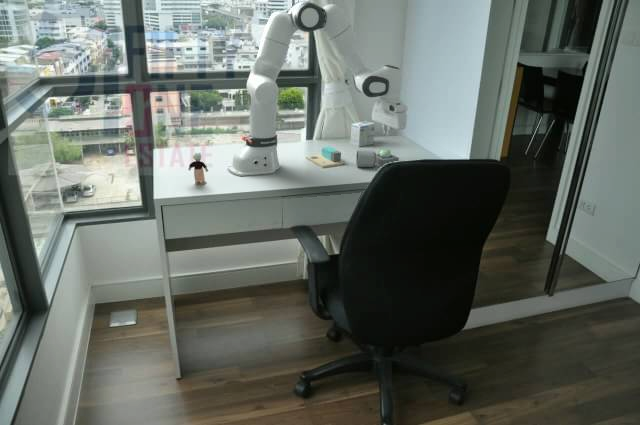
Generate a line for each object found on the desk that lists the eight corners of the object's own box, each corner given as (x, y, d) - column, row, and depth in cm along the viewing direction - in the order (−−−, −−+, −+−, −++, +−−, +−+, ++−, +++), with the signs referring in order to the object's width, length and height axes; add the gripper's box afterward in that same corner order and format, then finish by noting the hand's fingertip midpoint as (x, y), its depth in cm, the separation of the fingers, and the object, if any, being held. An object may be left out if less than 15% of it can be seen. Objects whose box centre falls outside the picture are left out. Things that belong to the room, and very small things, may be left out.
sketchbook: (322, 168, 220) (322, 165, 219) (305, 158, 231) (305, 156, 231) (343, 164, 225) (343, 162, 224) (326, 155, 237) (326, 153, 236)
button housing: (382, 166, 224) (383, 160, 223) (370, 160, 231) (371, 154, 230) (398, 163, 228) (398, 157, 227) (386, 158, 235) (386, 152, 234)
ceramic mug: (375, 169, 220) (377, 152, 217) (357, 169, 220) (358, 152, 217) (372, 162, 230) (373, 145, 227) (354, 161, 230) (355, 145, 227)
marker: (321, 155, 232) (322, 147, 231) (329, 154, 234) (329, 146, 233) (333, 162, 225) (333, 153, 223) (340, 160, 226) (341, 152, 225)
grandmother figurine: (209, 181, 201) (207, 150, 196) (208, 184, 197) (207, 153, 192) (189, 181, 200) (187, 151, 194) (188, 185, 196) (186, 154, 191)
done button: (383, 160, 226) (384, 152, 224) (377, 157, 229) (377, 150, 228) (392, 159, 228) (392, 151, 227) (385, 156, 232) (386, 148, 230)
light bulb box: (365, 140, 261) (366, 120, 257) (374, 143, 257) (375, 123, 252) (349, 144, 255) (350, 123, 251) (358, 147, 250) (360, 126, 246)
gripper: (369, 100, 225) (367, 130, 231) (398, 109, 209) (395, 141, 215) (380, 98, 228) (378, 128, 234) (410, 108, 212) (407, 139, 218)
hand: (387, 135), depth 224 cm, fingers closed
